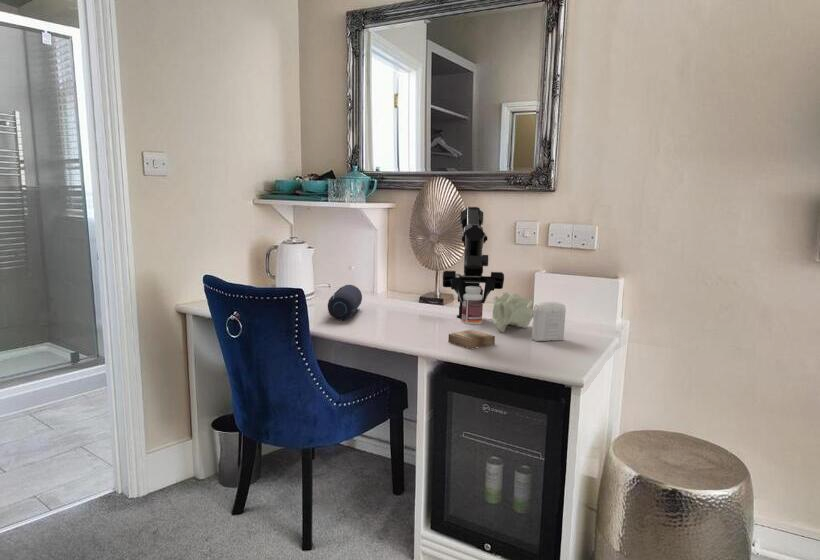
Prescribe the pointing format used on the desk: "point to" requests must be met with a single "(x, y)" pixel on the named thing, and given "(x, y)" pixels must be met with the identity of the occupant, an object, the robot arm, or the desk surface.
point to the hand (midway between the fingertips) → (472, 302)
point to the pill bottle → (472, 306)
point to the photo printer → (548, 321)
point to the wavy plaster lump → (511, 311)
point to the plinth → (471, 338)
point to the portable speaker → (344, 302)
